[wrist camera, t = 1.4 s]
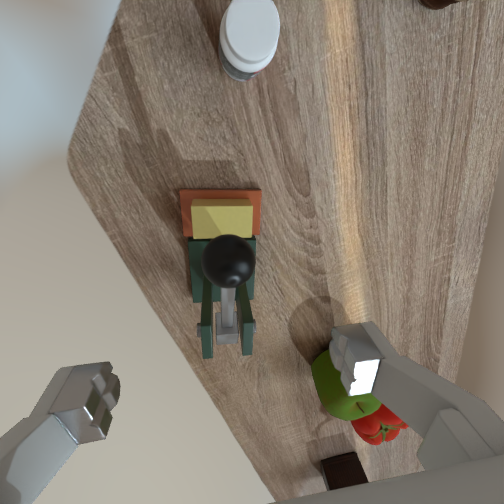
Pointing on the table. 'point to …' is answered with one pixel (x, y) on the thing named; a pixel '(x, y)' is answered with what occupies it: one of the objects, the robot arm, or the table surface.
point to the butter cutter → (212, 293)
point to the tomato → (379, 426)
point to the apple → (339, 392)
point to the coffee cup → (438, 3)
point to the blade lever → (228, 278)
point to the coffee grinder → (343, 471)
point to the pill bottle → (248, 37)
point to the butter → (220, 212)
